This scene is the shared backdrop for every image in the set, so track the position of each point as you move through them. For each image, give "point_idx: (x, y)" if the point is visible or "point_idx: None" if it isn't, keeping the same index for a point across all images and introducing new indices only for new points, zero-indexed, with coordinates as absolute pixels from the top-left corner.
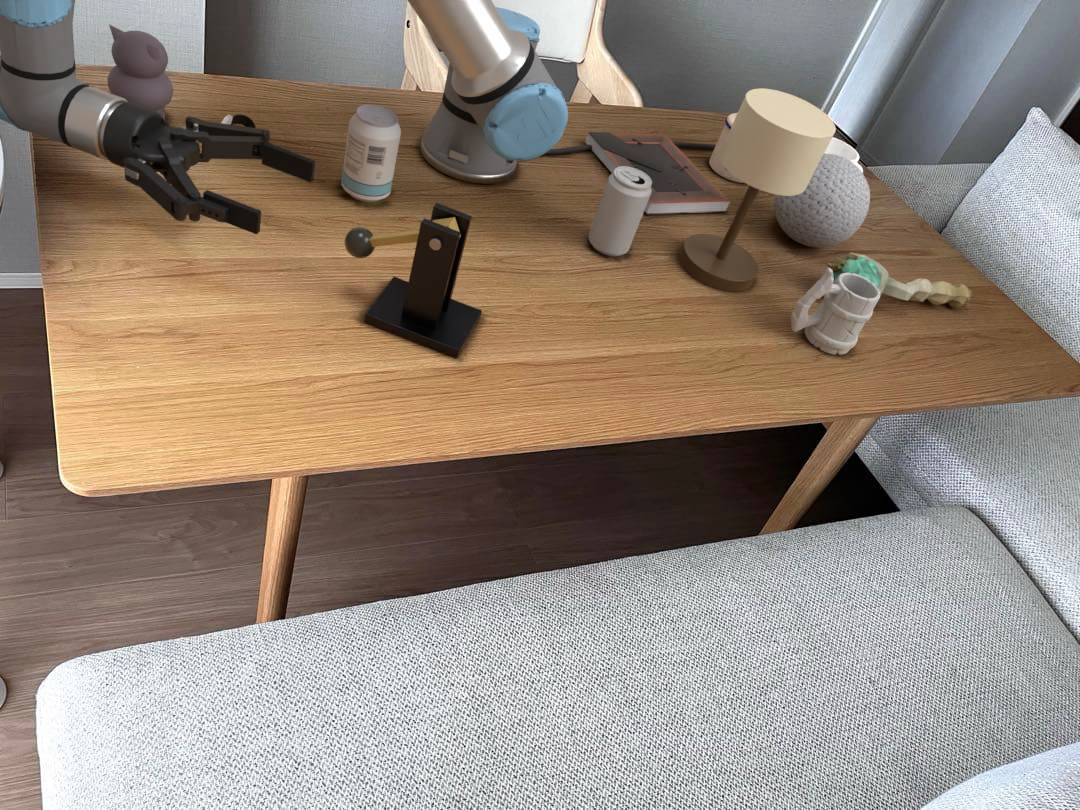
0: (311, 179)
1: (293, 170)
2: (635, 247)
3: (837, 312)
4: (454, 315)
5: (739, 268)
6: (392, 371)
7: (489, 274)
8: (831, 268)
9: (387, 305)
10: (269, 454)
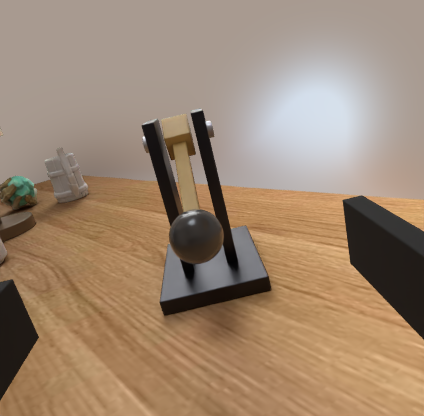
0: (32, 328)
1: (2, 364)
2: None
3: (75, 169)
4: None
5: (12, 217)
6: (320, 242)
7: (80, 283)
8: (11, 193)
9: (230, 275)
10: None
